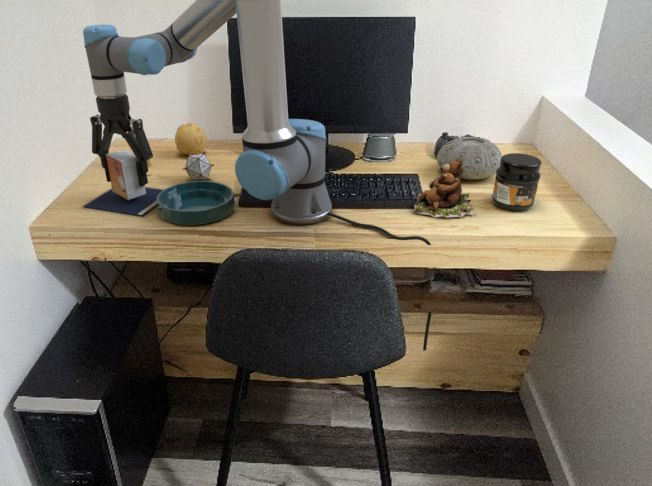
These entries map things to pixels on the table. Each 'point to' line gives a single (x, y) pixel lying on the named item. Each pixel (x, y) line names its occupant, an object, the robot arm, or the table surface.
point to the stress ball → (190, 139)
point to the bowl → (195, 202)
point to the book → (126, 203)
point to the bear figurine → (445, 194)
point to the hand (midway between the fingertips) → (127, 182)
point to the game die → (198, 167)
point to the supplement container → (516, 181)
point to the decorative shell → (471, 156)
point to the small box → (124, 174)
